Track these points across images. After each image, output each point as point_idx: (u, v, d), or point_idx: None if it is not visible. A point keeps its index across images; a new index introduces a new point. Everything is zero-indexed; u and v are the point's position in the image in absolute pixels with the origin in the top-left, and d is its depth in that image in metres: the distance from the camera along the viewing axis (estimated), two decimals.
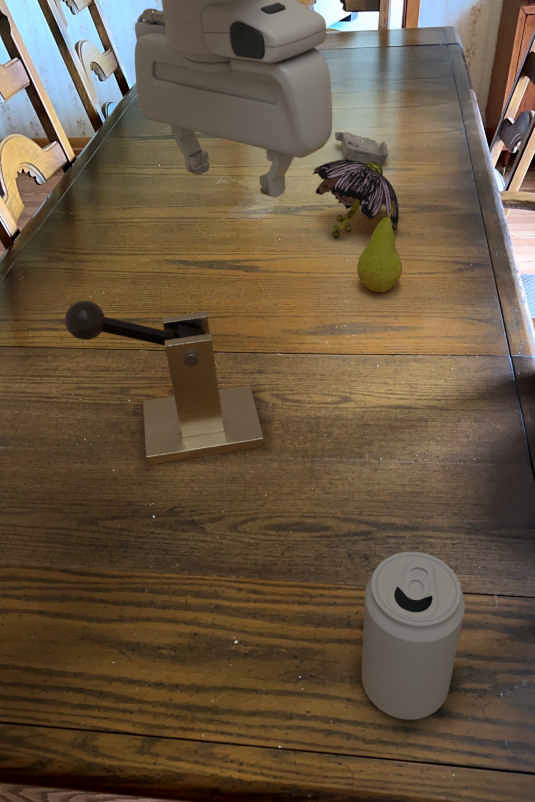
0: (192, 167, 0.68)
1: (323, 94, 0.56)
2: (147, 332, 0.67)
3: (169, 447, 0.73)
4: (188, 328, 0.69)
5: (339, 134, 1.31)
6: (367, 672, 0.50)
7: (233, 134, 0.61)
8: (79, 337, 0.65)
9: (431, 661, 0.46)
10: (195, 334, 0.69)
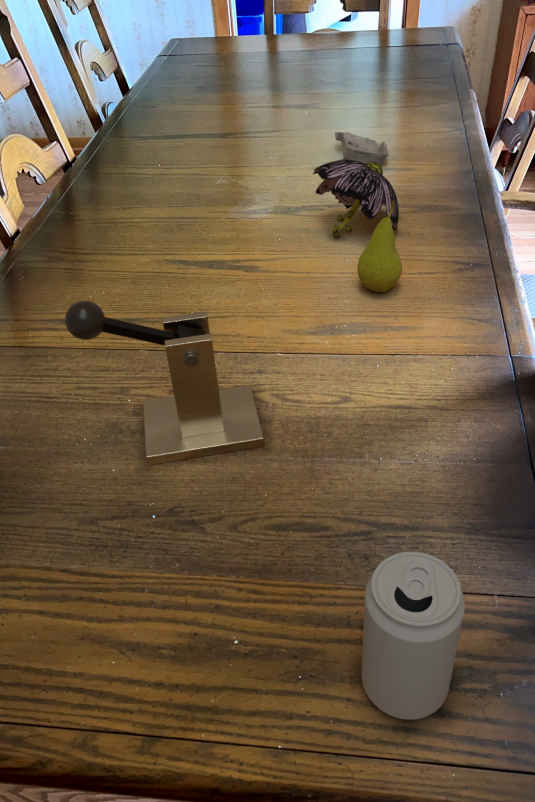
0: None
1: None
2: (147, 332, 0.67)
3: (169, 447, 0.73)
4: (188, 328, 0.69)
5: (339, 134, 1.31)
6: (367, 672, 0.50)
7: None
8: (79, 337, 0.65)
9: (431, 661, 0.46)
10: (195, 334, 0.69)
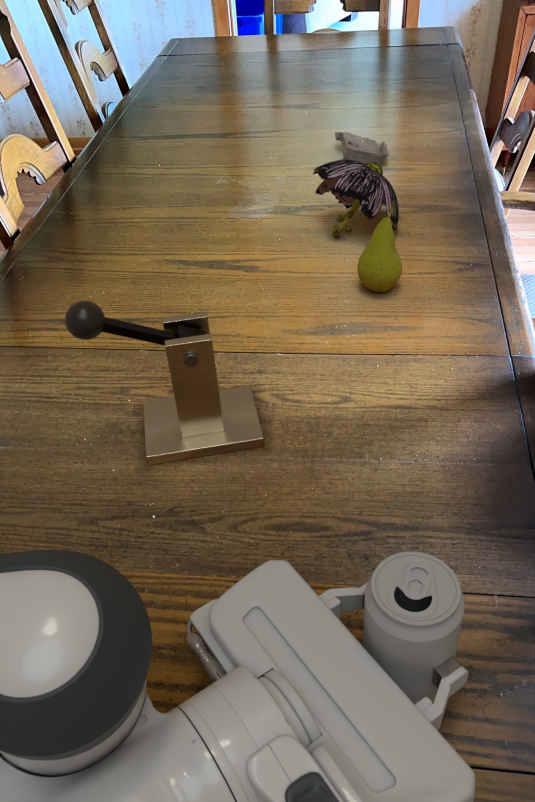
0: None
1: None
2: (147, 332, 0.67)
3: (169, 447, 0.73)
4: (188, 328, 0.69)
5: (339, 134, 1.31)
6: None
7: None
8: (79, 337, 0.65)
9: (430, 661, 0.46)
10: (195, 334, 0.69)
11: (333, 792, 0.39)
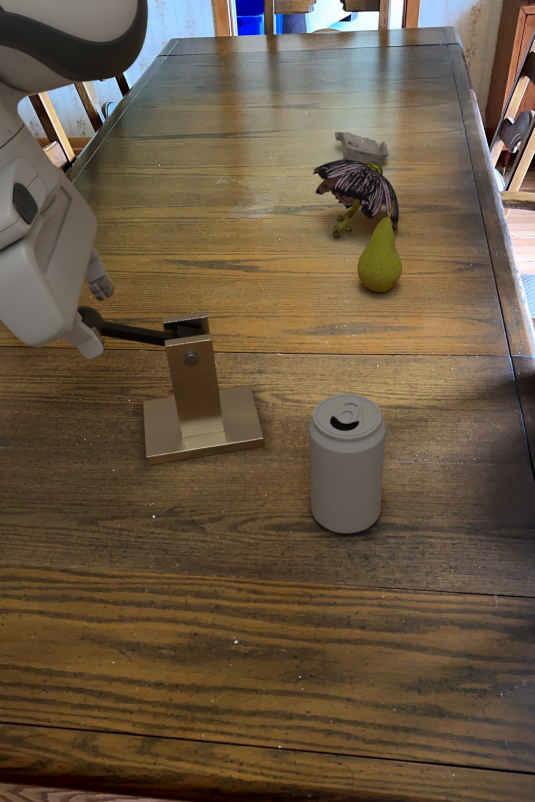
0: None
1: (26, 292, 0.50)
2: (146, 334, 0.68)
3: (169, 447, 0.73)
4: (188, 328, 0.69)
5: (339, 134, 1.31)
6: (313, 495, 0.63)
7: None
8: None
9: (358, 472, 0.59)
10: (194, 334, 0.69)
11: (33, 218, 0.51)
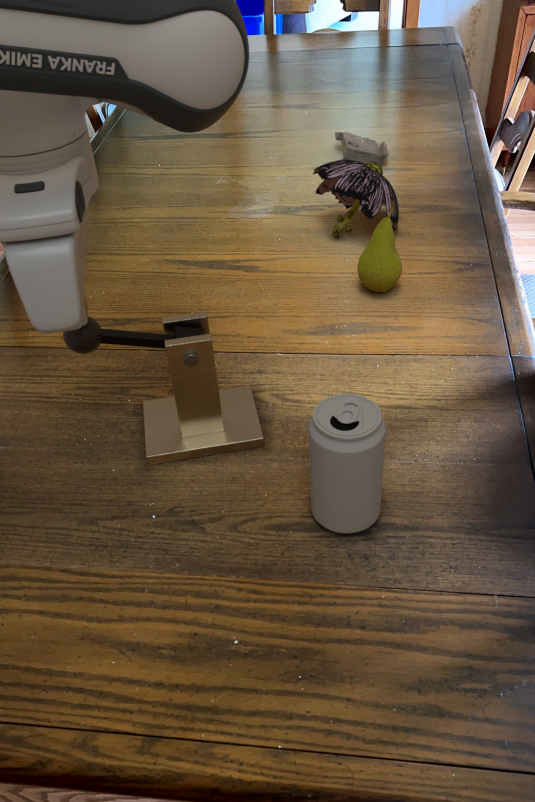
0: None
1: (59, 283, 0.53)
2: (145, 338, 0.68)
3: (169, 447, 0.73)
4: (186, 328, 0.69)
5: (339, 134, 1.31)
6: (313, 495, 0.63)
7: None
8: (78, 352, 0.66)
9: (358, 472, 0.59)
10: (193, 333, 0.69)
11: None
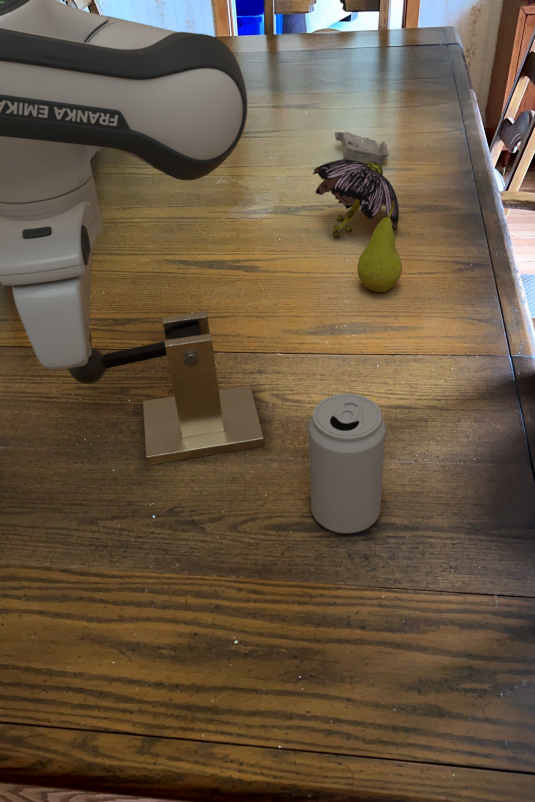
0: None
1: (66, 324, 0.55)
2: (144, 351, 0.69)
3: (169, 447, 0.73)
4: (182, 329, 0.69)
5: (339, 134, 1.31)
6: (313, 495, 0.63)
7: None
8: (87, 383, 0.69)
9: (358, 472, 0.59)
10: (189, 333, 0.69)
11: (87, 259, 0.56)
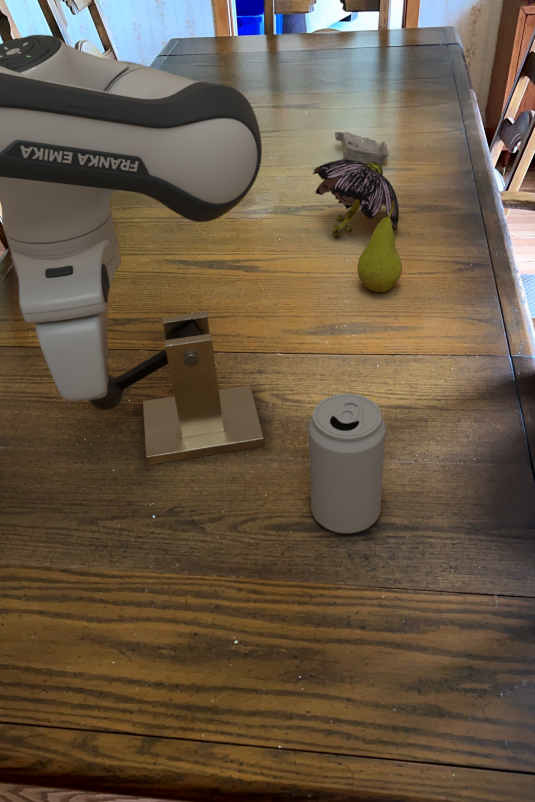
0: None
1: (86, 359, 0.57)
2: (149, 364, 0.70)
3: (169, 447, 0.73)
4: (178, 332, 0.69)
5: (339, 134, 1.31)
6: (313, 495, 0.63)
7: None
8: (109, 409, 0.71)
9: (358, 472, 0.59)
10: (184, 334, 0.69)
11: (106, 296, 0.58)
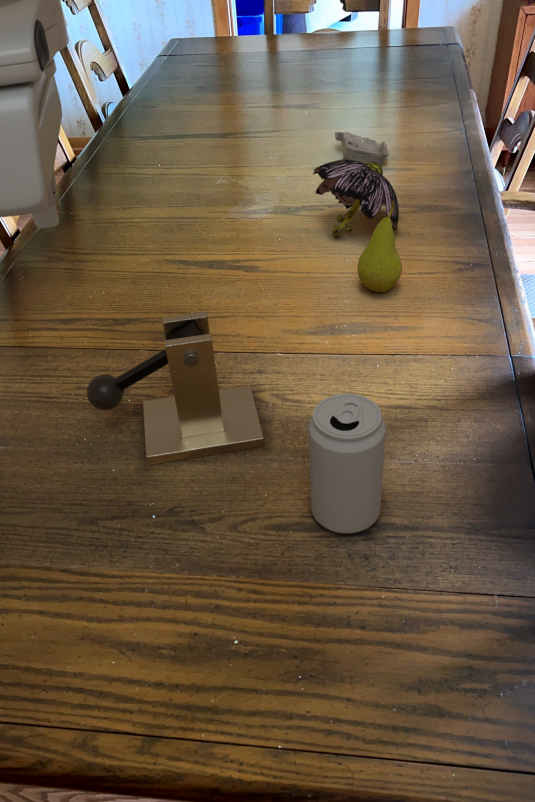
0: None
1: (16, 146, 0.42)
2: (149, 364, 0.70)
3: (169, 447, 0.73)
4: (178, 332, 0.69)
5: (339, 134, 1.31)
6: (313, 495, 0.63)
7: None
8: (109, 409, 0.71)
9: (358, 472, 0.59)
10: (184, 334, 0.69)
11: (44, 67, 0.43)
